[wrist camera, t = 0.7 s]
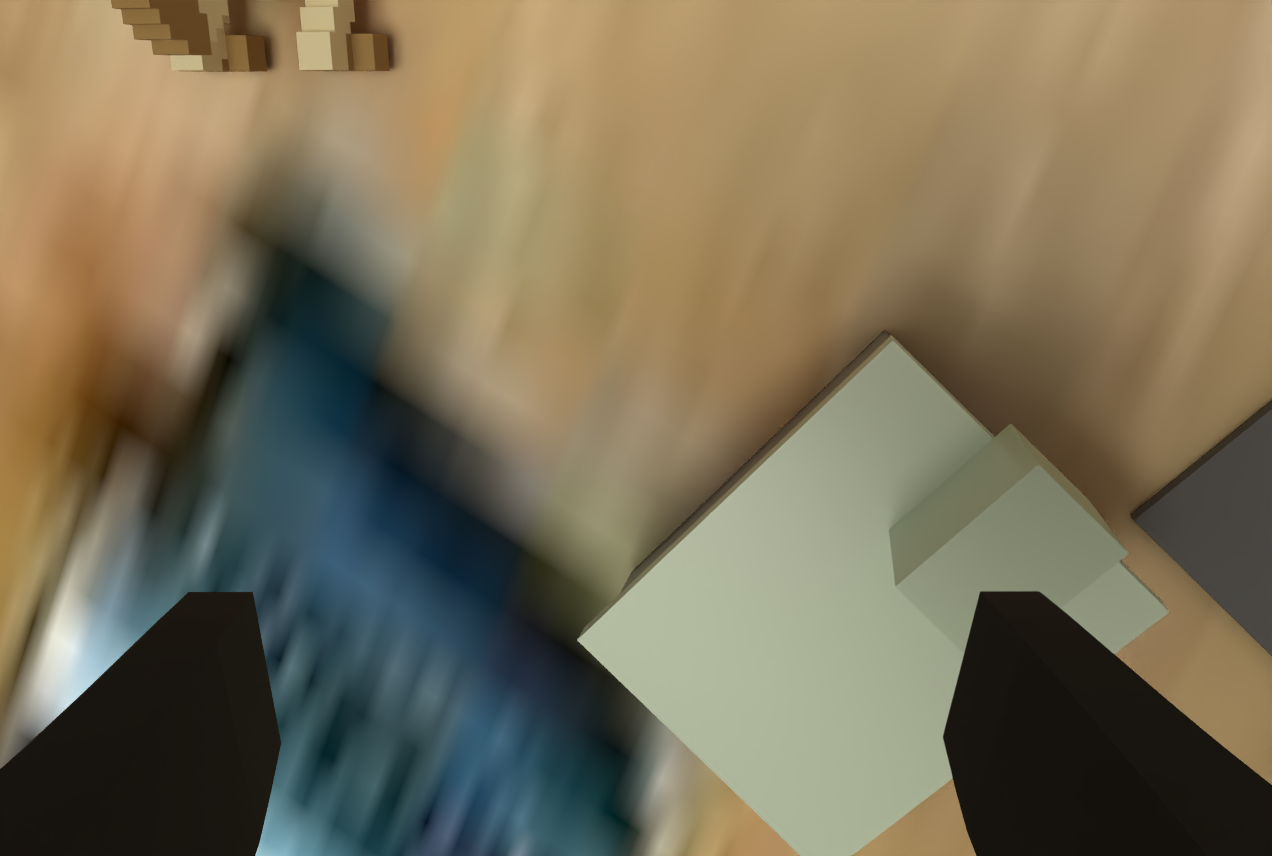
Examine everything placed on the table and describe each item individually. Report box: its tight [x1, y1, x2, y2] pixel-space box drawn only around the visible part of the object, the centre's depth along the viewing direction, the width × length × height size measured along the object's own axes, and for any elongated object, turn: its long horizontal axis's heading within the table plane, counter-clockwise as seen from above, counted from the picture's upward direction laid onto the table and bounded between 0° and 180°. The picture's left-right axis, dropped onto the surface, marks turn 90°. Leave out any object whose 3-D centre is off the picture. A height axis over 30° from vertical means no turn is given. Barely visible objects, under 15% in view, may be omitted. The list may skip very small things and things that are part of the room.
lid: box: [578, 335, 1169, 856], centre depth 24 cm, size 9×11×5 cm
